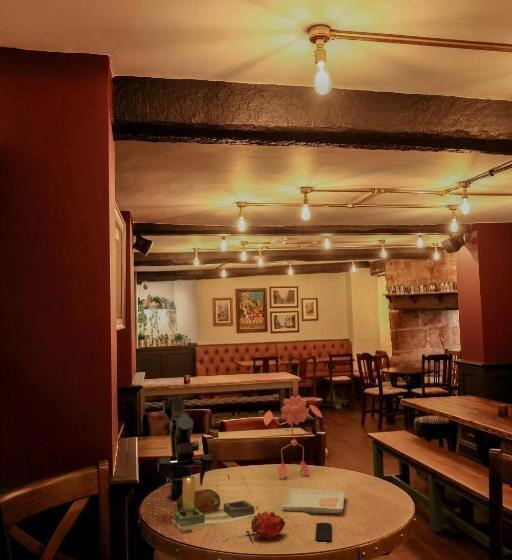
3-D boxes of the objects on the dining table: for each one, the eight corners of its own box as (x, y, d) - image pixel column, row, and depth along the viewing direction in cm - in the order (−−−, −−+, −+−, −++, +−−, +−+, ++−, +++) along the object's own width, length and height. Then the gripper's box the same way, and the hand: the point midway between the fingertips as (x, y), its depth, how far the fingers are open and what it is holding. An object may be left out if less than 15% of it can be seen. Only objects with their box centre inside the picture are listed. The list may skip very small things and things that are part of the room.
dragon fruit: (247, 545, 174) (282, 544, 179) (258, 535, 169) (294, 534, 173) (243, 517, 180) (277, 517, 184) (254, 506, 174) (289, 506, 179)
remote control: (331, 546, 170) (331, 527, 185) (331, 540, 170) (331, 521, 185) (315, 546, 171) (316, 526, 186) (315, 540, 171) (316, 521, 186)
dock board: (171, 522, 192) (171, 511, 192) (247, 509, 204) (247, 498, 204) (182, 533, 181) (182, 521, 182) (262, 518, 193) (261, 508, 194)
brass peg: (184, 519, 192) (183, 476, 193) (196, 519, 191) (195, 476, 193) (181, 523, 188) (181, 479, 189) (193, 523, 187) (192, 479, 189)
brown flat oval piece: (177, 519, 195) (177, 493, 196) (176, 516, 198) (176, 491, 199) (220, 514, 199) (220, 489, 200) (218, 511, 202) (218, 486, 203)
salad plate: (343, 518, 193) (343, 507, 193) (281, 515, 197) (281, 505, 197) (346, 499, 214) (345, 490, 214) (289, 497, 218) (289, 488, 218)
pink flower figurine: (261, 477, 246) (260, 395, 248) (317, 472, 253) (315, 392, 255) (273, 487, 231) (272, 400, 233) (331, 481, 239) (330, 396, 241)
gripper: (158, 434, 197) (161, 475, 185) (211, 431, 201) (217, 470, 190) (156, 453, 204) (159, 493, 192) (208, 449, 209) (214, 488, 197)
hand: (187, 486), depth 193 cm, fingers open, 9 cm apart
